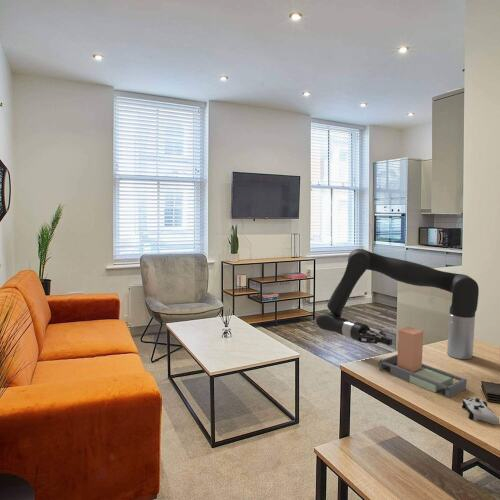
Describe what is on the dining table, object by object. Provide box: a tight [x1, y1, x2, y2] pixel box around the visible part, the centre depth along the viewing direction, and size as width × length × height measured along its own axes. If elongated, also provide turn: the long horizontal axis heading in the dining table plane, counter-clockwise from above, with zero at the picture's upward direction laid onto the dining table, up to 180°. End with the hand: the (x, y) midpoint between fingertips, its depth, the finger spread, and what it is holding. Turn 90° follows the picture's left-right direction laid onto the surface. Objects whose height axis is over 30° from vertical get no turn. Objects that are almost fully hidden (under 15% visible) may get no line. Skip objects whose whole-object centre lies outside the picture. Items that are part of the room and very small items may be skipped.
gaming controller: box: [461, 397, 500, 425], centre depth 118 cm, size 11×6×7 cm
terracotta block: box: [397, 326, 424, 372], centre depth 145 cm, size 6×6×14 cm
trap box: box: [378, 354, 468, 399], centre depth 142 cm, size 11×27×3 cm, turn 34°
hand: (391, 342), depth 152 cm, fingers closed
